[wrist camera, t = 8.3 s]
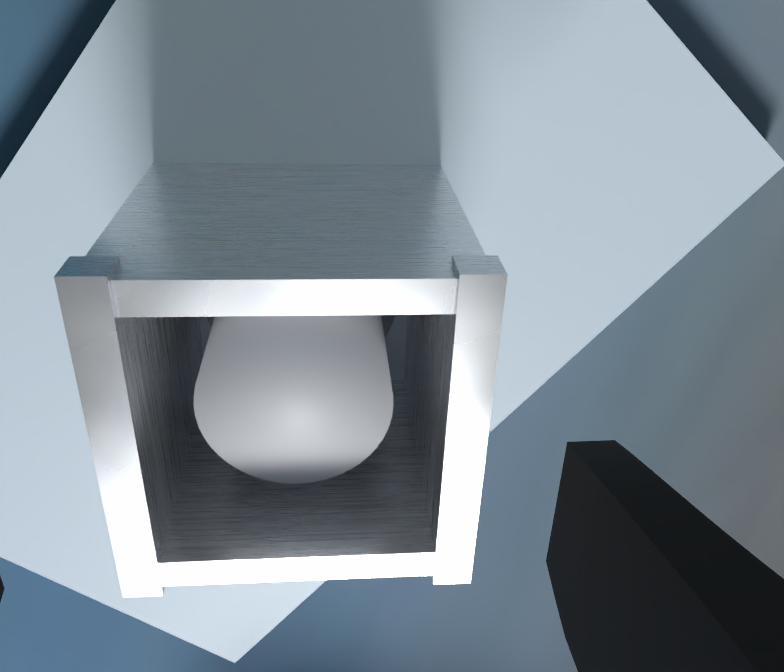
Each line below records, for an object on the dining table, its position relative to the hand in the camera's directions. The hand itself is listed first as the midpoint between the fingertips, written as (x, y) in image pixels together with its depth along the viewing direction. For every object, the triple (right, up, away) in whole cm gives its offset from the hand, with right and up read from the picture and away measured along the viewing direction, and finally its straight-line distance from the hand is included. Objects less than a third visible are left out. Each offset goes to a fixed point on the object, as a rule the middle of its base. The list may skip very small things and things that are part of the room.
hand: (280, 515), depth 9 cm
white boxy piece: (0, +3, +6) cm, 6 cm away
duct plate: (-1, +3, +7) cm, 7 cm away
